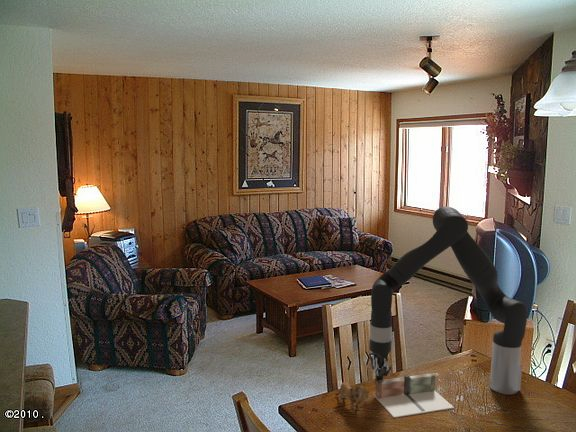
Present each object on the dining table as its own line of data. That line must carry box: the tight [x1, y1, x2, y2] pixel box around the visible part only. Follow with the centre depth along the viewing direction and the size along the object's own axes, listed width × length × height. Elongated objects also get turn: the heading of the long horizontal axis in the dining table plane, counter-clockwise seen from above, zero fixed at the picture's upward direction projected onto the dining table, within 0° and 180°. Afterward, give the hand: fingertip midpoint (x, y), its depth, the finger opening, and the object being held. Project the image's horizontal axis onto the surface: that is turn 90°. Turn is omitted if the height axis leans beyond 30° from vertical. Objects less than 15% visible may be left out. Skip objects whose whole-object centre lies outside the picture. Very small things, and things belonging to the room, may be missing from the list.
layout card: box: [374, 390, 455, 419], centre depth 167 cm, size 22×14×1 cm, turn 106°
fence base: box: [403, 372, 436, 395], centre depth 173 cm, size 12×2×6 cm, turn 106°
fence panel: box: [374, 377, 404, 399], centre depth 170 cm, size 10×2×6 cm, turn 106°
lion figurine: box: [334, 381, 370, 413], centre depth 165 cm, size 15×5×9 cm, turn 36°
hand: (378, 384), depth 172 cm, fingers closed
